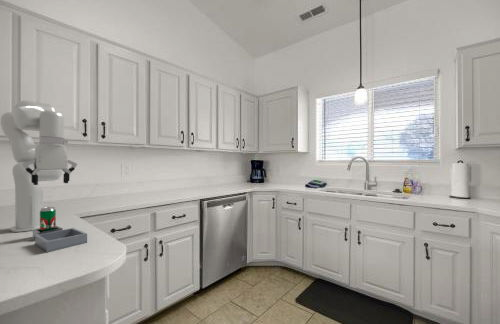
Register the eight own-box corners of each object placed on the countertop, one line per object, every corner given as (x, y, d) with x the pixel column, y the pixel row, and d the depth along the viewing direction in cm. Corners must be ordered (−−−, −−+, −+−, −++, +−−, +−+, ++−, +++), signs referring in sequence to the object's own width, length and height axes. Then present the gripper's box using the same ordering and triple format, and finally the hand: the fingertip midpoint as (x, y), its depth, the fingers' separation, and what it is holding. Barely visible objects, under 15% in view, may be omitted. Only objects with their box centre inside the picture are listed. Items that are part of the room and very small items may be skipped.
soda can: (54, 233, 100) (54, 206, 100) (57, 235, 97) (57, 207, 97) (38, 236, 96) (38, 208, 97) (41, 239, 93) (41, 209, 93)
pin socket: (32, 237, 96) (32, 229, 96) (56, 232, 102) (56, 225, 102) (38, 240, 91) (38, 233, 91) (62, 235, 98) (62, 228, 98)
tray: (35, 244, 87) (35, 235, 87) (73, 236, 97) (73, 227, 97) (47, 252, 79) (47, 242, 79) (87, 242, 89) (87, 233, 89)
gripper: (73, 143, 103) (73, 181, 103) (19, 140, 89) (19, 184, 89) (80, 143, 99) (79, 183, 99) (25, 140, 84) (24, 186, 84)
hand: (51, 183), depth 94 cm, fingers open, 9 cm apart
